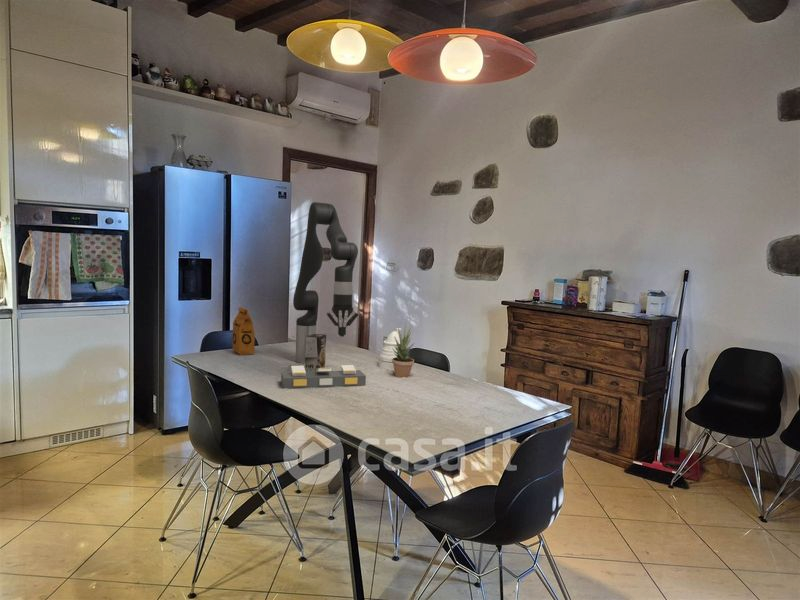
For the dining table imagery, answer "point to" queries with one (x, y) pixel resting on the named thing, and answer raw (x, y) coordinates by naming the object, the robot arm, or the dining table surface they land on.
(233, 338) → the coffee package
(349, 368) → the switch
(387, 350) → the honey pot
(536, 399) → the dining table surface
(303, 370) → the switch
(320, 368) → the switch
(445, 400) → the dining table surface
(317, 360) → the coffee box
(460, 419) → the dining table surface
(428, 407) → the dining table surface
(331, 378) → the switch box
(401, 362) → the potted plant
